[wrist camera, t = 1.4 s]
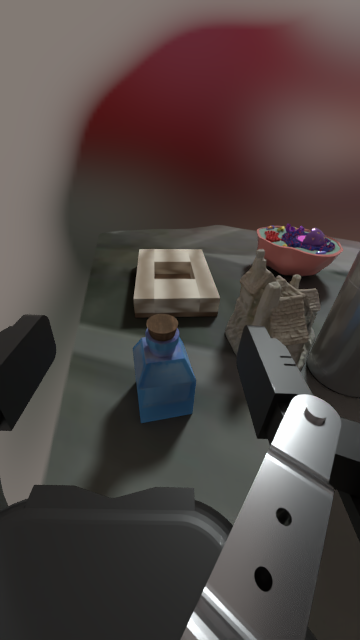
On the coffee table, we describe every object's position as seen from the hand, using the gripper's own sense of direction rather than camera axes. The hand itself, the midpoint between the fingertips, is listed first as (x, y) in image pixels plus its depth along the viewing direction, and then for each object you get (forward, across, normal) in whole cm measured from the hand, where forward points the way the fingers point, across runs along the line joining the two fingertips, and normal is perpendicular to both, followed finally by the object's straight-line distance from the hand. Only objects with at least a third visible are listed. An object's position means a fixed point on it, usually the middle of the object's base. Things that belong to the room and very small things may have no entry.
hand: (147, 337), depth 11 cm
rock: (+25, -18, +19) cm, 36 cm away
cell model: (+51, -30, +16) cm, 62 cm away
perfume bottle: (+13, 0, +20) cm, 24 cm away
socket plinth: (+41, -1, +18) cm, 45 cm away
